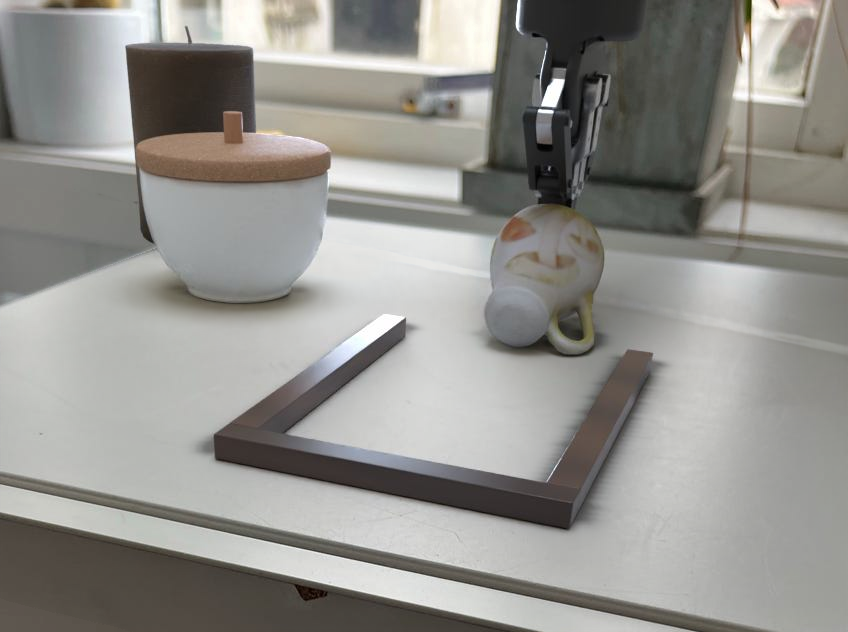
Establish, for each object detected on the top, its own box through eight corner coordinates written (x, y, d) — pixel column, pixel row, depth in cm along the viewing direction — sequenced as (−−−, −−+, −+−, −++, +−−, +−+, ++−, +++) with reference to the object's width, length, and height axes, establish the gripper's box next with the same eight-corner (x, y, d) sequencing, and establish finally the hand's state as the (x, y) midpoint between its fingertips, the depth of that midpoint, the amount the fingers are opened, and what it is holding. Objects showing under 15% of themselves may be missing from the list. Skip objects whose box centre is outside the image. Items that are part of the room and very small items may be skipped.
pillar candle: (210, 256, 78) (197, 31, 70) (116, 238, 82) (94, 23, 74) (283, 235, 85) (280, 27, 77) (193, 219, 89) (181, 20, 81)
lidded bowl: (362, 302, 69) (367, 121, 63) (187, 324, 63) (173, 128, 57) (282, 260, 78) (279, 99, 72) (123, 277, 72) (105, 103, 66)
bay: (383, 333, 63) (383, 313, 62) (649, 373, 58) (653, 352, 57) (214, 458, 46) (212, 434, 46) (569, 529, 41) (573, 503, 41)
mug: (450, 352, 61) (455, 183, 60) (508, 383, 69) (514, 234, 69) (570, 341, 57) (578, 161, 57) (616, 374, 66) (623, 218, 65)
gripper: (635, -60, 51) (583, 289, 61) (674, -55, 61) (625, 243, 71) (493, -65, 53) (465, 272, 63) (554, -59, 64) (522, 231, 73)
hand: (550, 256), depth 67 cm, fingers closed
